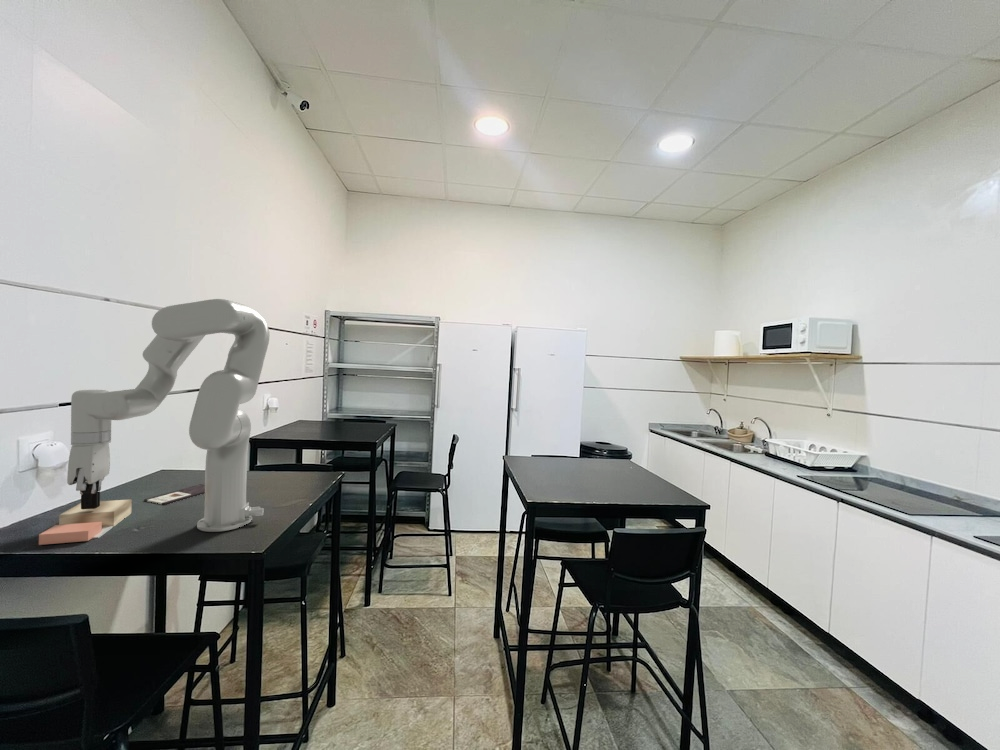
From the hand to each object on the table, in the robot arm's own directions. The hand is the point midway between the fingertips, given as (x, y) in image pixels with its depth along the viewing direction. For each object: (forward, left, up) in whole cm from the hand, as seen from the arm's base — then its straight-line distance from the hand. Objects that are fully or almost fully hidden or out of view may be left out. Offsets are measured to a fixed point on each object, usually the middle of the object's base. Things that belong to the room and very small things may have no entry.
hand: (90, 507), depth 110 cm
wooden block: (0, -3, -5) cm, 6 cm away
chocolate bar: (-14, -24, -6) cm, 28 cm away
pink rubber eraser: (0, +8, -2) cm, 8 cm away
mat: (0, +6, -5) cm, 7 cm away
